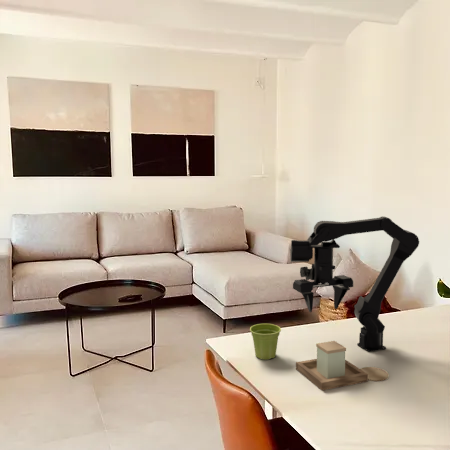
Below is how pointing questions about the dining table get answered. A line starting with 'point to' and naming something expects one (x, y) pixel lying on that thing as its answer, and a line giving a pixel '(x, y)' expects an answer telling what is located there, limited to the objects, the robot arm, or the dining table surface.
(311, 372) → the walnut tray
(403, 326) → the dining table surface
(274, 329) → the plant pot
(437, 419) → the dining table surface
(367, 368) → the cork coaster
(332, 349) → the sage canister
